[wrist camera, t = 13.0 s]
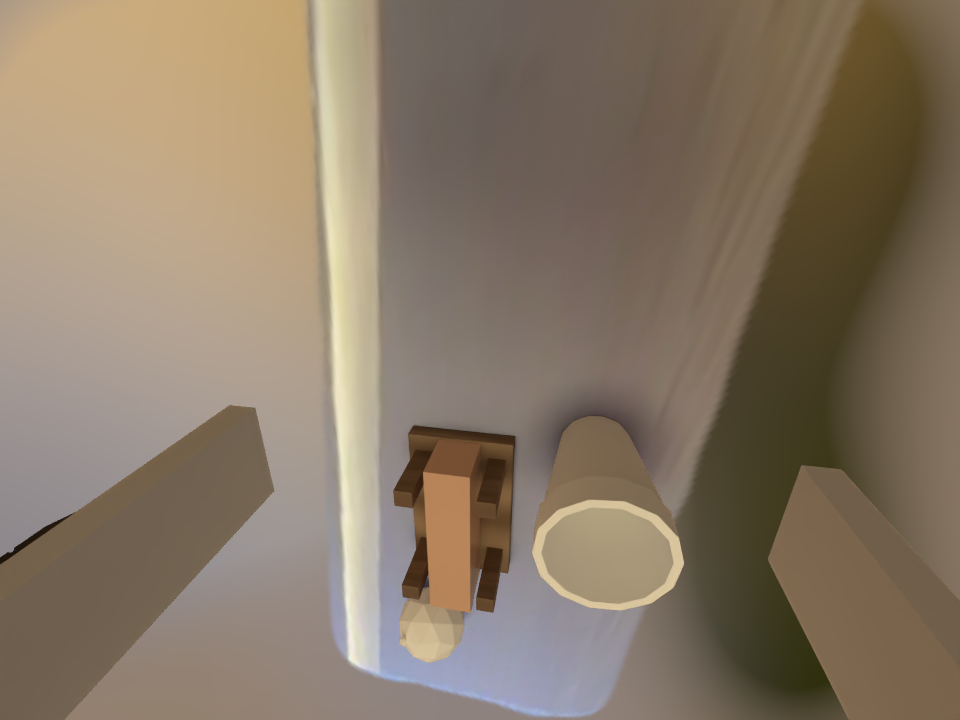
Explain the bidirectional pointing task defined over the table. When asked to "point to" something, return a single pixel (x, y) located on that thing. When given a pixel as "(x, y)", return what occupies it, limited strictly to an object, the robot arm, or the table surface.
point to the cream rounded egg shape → (430, 629)
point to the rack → (489, 506)
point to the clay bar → (453, 523)
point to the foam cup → (604, 522)
